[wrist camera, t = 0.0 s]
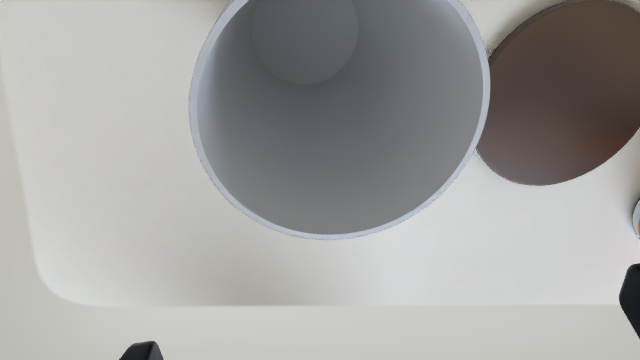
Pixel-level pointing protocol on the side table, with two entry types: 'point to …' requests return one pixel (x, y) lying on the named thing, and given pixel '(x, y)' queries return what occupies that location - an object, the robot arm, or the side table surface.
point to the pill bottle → (637, 219)
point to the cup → (338, 110)
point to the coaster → (563, 92)
